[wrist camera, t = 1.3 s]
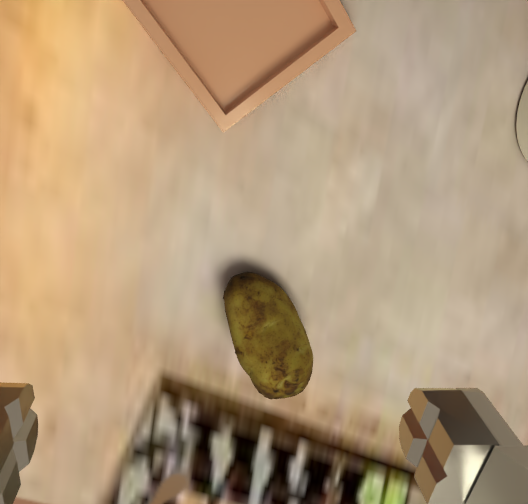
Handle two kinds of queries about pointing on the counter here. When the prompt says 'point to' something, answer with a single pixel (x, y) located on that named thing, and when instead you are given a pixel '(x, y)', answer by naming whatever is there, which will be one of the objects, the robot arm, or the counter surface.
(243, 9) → the tray
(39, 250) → the counter surface
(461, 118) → the counter surface
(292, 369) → the potato
